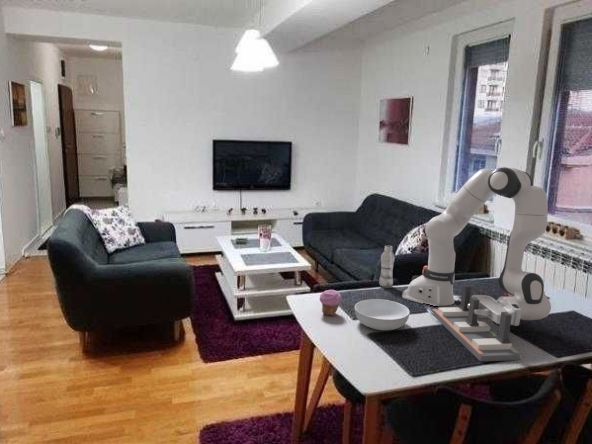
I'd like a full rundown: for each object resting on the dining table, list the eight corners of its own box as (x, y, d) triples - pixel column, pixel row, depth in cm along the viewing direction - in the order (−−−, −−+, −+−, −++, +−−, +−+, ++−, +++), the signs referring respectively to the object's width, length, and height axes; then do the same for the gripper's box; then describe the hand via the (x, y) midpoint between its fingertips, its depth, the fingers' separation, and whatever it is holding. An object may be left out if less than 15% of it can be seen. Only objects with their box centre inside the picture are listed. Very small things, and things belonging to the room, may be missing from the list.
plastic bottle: (382, 289, 219) (385, 248, 215) (376, 284, 225) (379, 244, 221) (395, 288, 221) (398, 247, 216) (388, 284, 227) (391, 244, 223)
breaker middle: (470, 325, 171) (473, 300, 169) (465, 321, 175) (468, 296, 173) (478, 325, 172) (481, 300, 170) (473, 321, 176) (476, 296, 174)
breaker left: (462, 310, 185) (465, 287, 183) (458, 306, 189) (460, 283, 187) (470, 310, 186) (473, 287, 184) (465, 306, 190) (468, 283, 188)
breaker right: (501, 343, 158) (505, 316, 156) (495, 337, 162) (498, 311, 160) (510, 342, 159) (514, 315, 157) (504, 337, 163) (507, 311, 160)
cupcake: (315, 315, 187) (316, 291, 185) (323, 308, 194) (324, 285, 192) (336, 319, 183) (337, 295, 181) (343, 312, 191) (345, 289, 189)
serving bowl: (409, 318, 187) (410, 302, 186) (406, 340, 167) (408, 322, 166) (357, 311, 192) (358, 295, 191) (349, 332, 173) (350, 314, 171)
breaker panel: (480, 361, 154) (481, 350, 153) (431, 313, 193) (432, 304, 192) (519, 360, 156) (521, 349, 155) (463, 312, 195) (464, 303, 194)
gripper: (492, 290, 183) (459, 291, 182) (523, 311, 164) (486, 311, 162) (490, 305, 185) (457, 306, 183) (521, 327, 165) (484, 328, 163)
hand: (471, 309), depth 172 cm, fingers open, 3 cm apart
